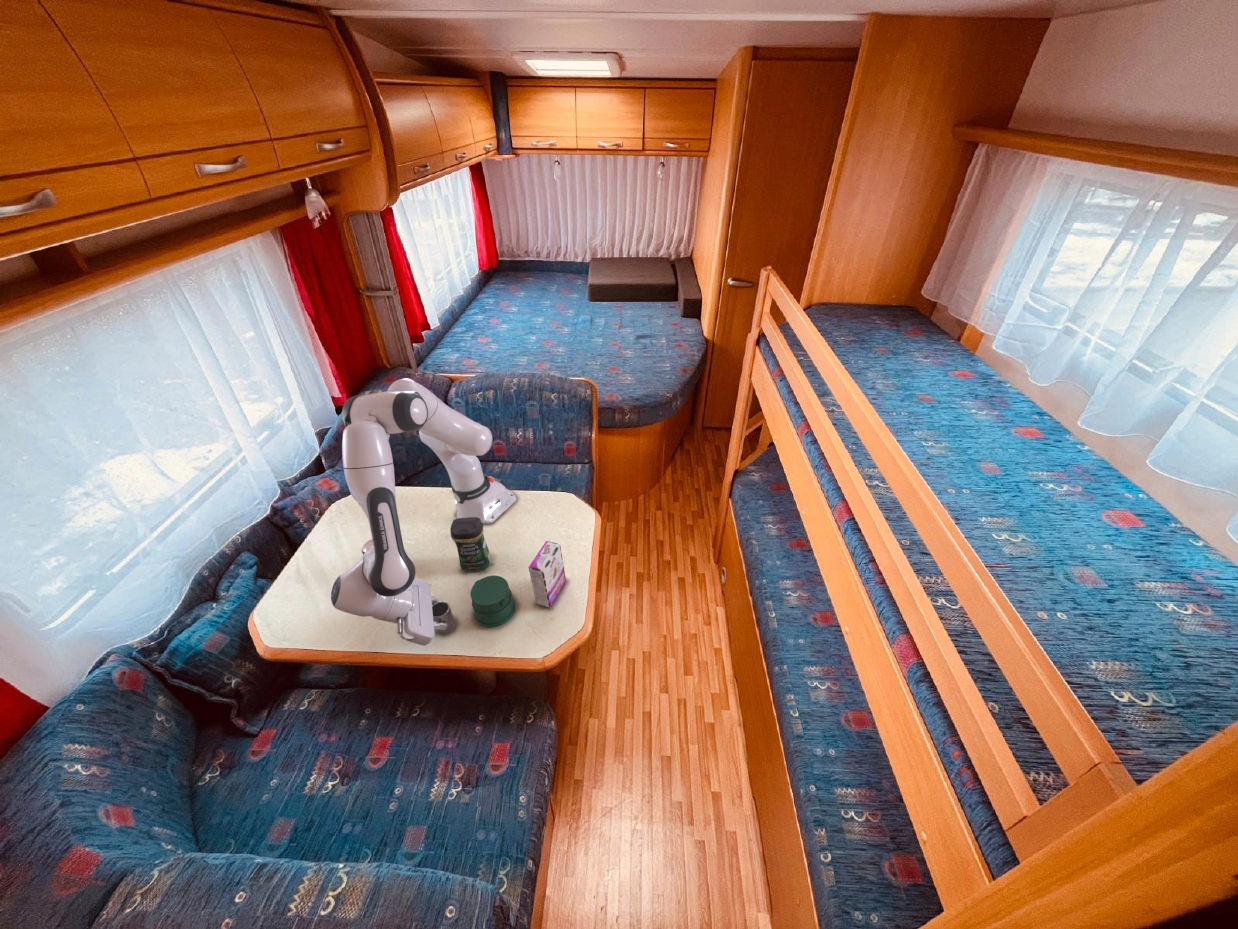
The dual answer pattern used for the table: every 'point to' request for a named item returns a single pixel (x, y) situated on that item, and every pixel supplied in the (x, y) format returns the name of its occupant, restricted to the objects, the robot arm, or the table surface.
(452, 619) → the steel cup
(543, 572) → the candy bar box
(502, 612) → the bucket
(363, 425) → the robot arm
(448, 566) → the table surface
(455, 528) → the coffee jar
